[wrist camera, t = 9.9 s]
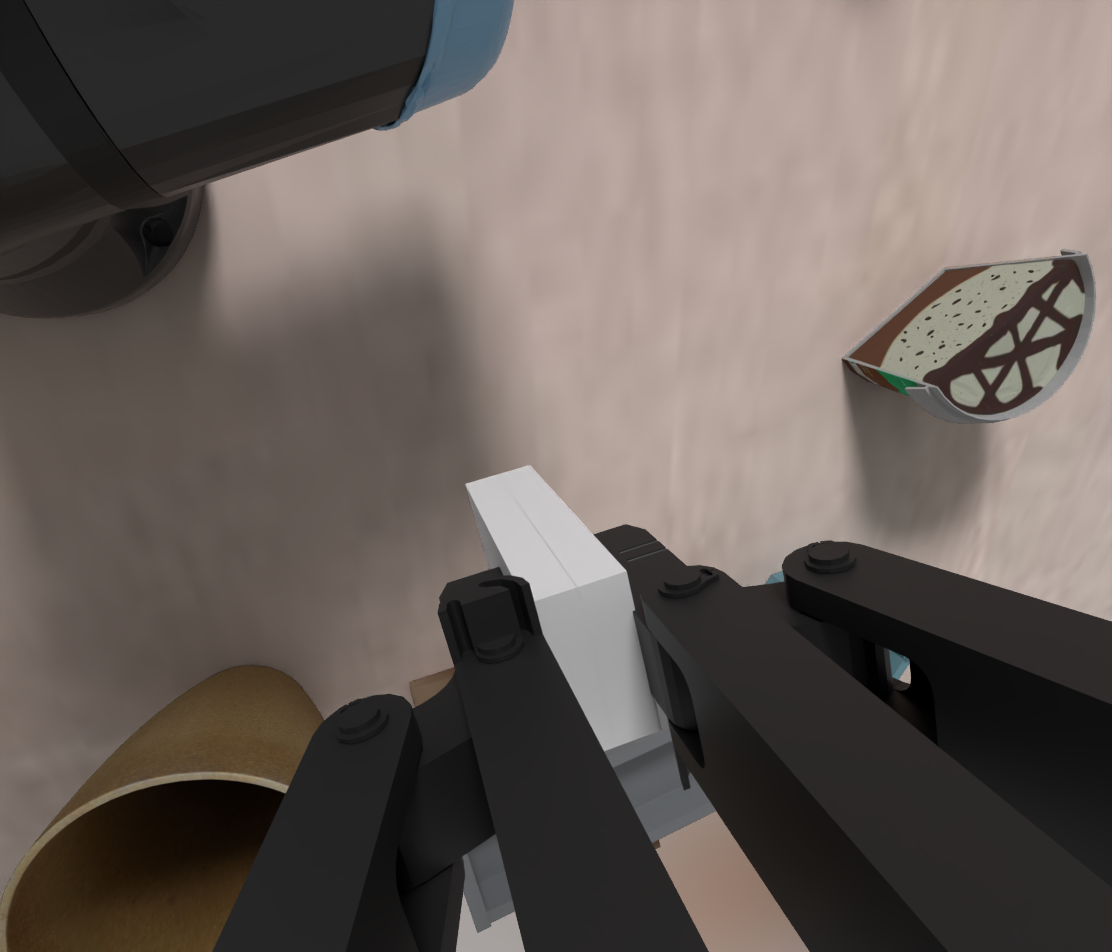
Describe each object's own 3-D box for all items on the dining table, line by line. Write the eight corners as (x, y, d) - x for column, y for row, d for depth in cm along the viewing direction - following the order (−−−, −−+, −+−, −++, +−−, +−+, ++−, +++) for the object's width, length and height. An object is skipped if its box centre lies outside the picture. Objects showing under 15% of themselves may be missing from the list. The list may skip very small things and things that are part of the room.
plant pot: (78, 648, 44) (-69, 842, 29) (339, 583, 47) (329, 728, 32) (160, 855, 48) (70, 1117, 33) (394, 784, 51) (409, 995, 36)
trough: (456, 867, 46) (477, 932, 41) (400, 704, 43) (416, 755, 38) (761, 723, 52) (810, 766, 47) (734, 570, 48) (785, 599, 44)
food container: (868, 439, 53) (977, 473, 44) (825, 372, 51) (929, 393, 42) (998, 324, 54) (1134, 333, 44) (960, 253, 51) (1094, 247, 42)
